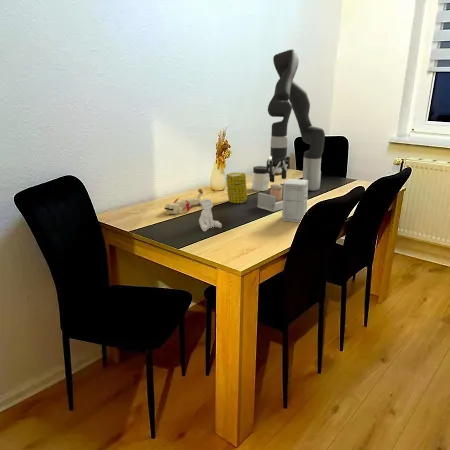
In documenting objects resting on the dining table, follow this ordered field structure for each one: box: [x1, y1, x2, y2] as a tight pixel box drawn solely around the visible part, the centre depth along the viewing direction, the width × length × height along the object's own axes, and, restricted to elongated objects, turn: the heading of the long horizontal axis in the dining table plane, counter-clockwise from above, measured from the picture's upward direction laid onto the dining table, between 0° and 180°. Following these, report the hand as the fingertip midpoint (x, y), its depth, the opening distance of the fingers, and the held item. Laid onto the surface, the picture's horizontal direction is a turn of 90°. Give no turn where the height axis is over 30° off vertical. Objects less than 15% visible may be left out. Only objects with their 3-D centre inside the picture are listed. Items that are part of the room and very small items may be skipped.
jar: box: [251, 165, 270, 192], centre depth 245 cm, size 9×8×12 cm
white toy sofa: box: [256, 191, 283, 213], centre depth 216 cm, size 17×10×7 cm, turn 133°
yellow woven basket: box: [226, 172, 248, 205], centre depth 222 cm, size 15×12×10 cm
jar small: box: [269, 183, 283, 203], centre depth 215 cm, size 6×6×9 cm
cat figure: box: [164, 188, 205, 215], centre depth 211 cm, size 10×9×25 cm
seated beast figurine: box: [198, 198, 223, 232], centre depth 186 cm, size 10×9×12 cm
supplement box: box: [281, 178, 309, 223], centre depth 196 cm, size 10×9×17 cm
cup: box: [267, 156, 283, 175], centre depth 283 cm, size 12×12×10 cm
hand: (277, 180), depth 212 cm, fingers open, 8 cm apart
